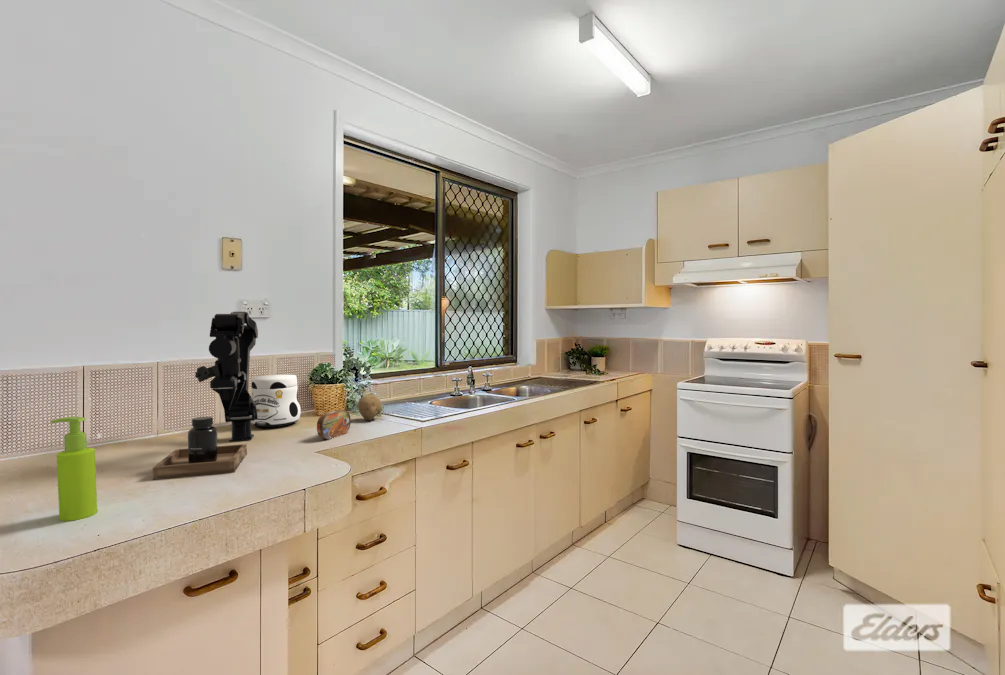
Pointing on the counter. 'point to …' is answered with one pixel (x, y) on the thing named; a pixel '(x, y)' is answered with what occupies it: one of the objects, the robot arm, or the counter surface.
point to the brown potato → (369, 406)
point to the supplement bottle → (202, 441)
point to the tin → (333, 424)
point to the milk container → (275, 400)
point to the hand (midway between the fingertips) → (230, 408)
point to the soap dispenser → (76, 474)
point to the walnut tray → (180, 466)
